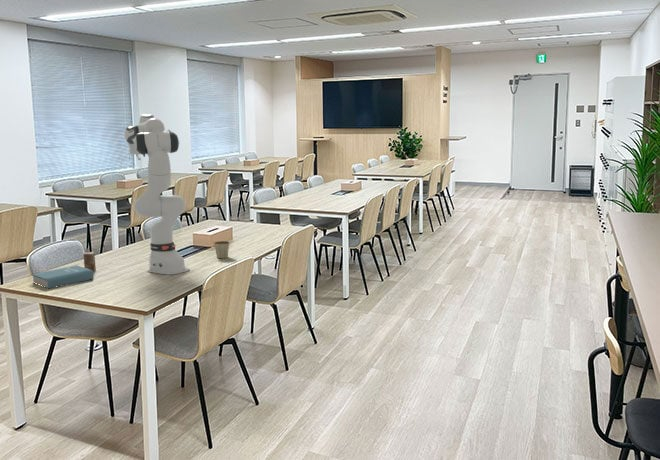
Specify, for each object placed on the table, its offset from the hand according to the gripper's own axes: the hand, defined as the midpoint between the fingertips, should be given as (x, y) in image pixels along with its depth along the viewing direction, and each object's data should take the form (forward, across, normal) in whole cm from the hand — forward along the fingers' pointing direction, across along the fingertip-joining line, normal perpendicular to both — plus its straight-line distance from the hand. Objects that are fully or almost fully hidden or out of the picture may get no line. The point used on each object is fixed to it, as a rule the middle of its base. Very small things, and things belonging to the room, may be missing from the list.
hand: (147, 159), depth 361 cm
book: (+18, -48, -82) cm, 97 cm away
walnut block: (+25, -36, -68) cm, 81 cm away
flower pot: (+28, +34, -63) cm, 77 cm away
